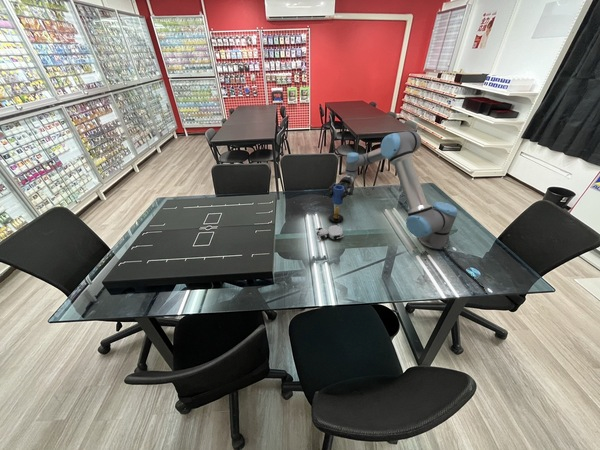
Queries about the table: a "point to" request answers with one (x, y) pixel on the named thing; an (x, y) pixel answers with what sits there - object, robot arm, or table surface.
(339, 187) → the blue sleeve
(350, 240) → the table surface
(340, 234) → the robot toy
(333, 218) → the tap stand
